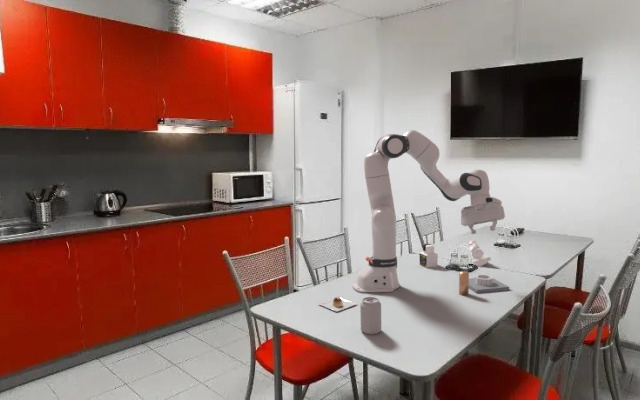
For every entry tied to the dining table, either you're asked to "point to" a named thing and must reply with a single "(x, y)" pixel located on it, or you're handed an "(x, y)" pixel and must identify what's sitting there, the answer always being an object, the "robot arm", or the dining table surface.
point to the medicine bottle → (428, 256)
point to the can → (370, 315)
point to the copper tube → (464, 283)
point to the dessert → (337, 302)
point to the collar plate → (486, 284)
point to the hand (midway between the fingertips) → (483, 232)
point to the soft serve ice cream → (478, 254)
